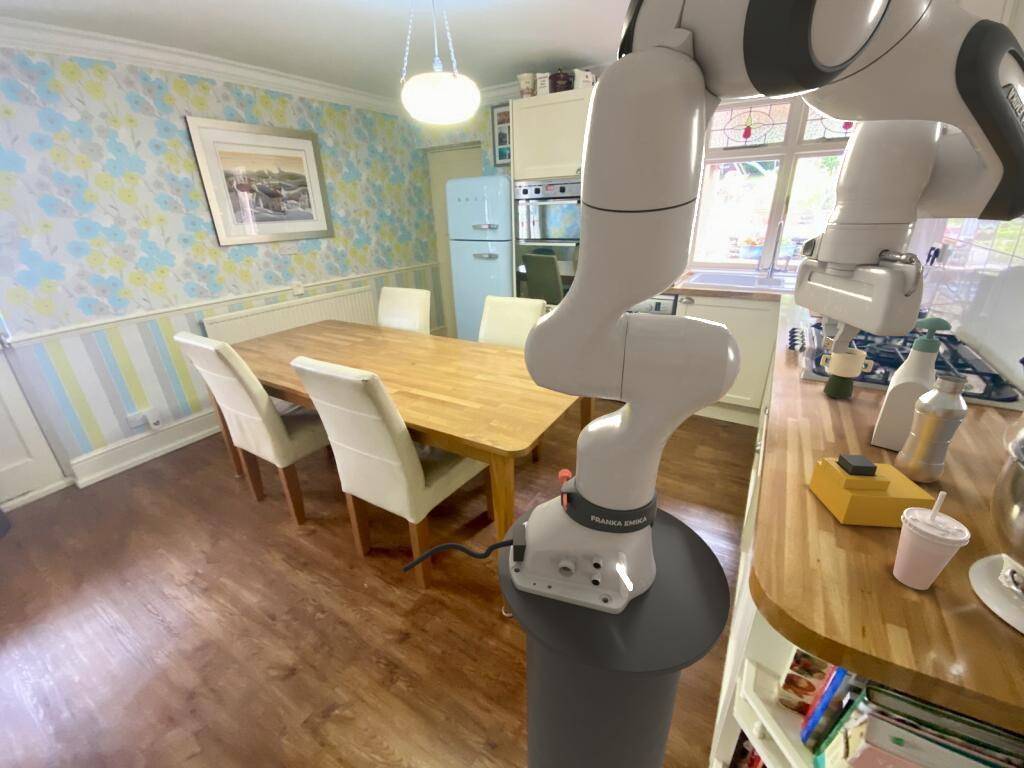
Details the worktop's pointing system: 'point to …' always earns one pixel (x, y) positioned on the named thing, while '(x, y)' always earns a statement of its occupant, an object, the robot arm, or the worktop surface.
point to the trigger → (856, 465)
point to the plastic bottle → (932, 430)
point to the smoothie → (927, 544)
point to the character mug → (844, 371)
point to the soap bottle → (909, 387)
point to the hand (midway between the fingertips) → (833, 350)
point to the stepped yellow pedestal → (867, 494)
